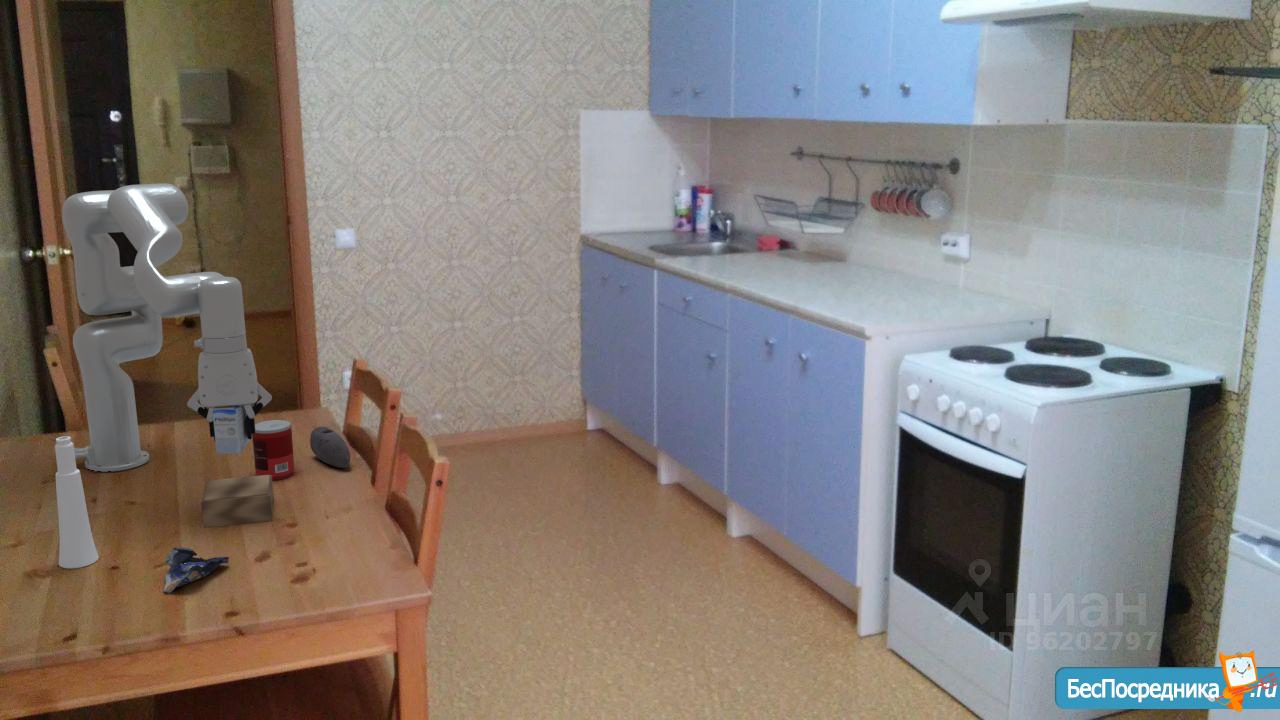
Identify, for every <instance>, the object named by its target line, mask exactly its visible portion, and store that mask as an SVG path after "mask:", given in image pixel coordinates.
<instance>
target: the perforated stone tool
mask: <svg viewBox="0 0 1280 720" xmlns="http://www.w3.org/2000/svg"><path fill="white" fill-rule="evenodd" d="M309 444H310V445H309V446H310V449H311V451H312V453H313V454H314V455H315V456H316V457H317V458H318V460H320V461H322V462H323V463H326V464H327V465H330V466H332V467H334V468H338V469H346V468H347V467H348V466H349V465H350V462H351V452H350V449H349V446H348V444H347V442H346V441H345V440H344V438H342V437H341V436H340V435H339V434H338V433H337V432H336V431H335V430H333V429H330V428H329V427H325V426H318V427H316V428H314V429H313V430H312V431H311V433H310V439H309Z"/></svg>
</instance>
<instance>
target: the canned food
mask: <svg viewBox="0 0 1280 720" xmlns="http://www.w3.org/2000/svg"><path fill="white" fill-rule="evenodd" d="M292 430H293V429H292V423H291V422H290V421H288V420H284V419H283V420H282V419H272V420H264V421H261V422H257V423H255V433H253V434H252V447H253V460H254V468H255V476H262V475H272V482H273V481H279V480H284V479H287V478H289V476H290V477H291V476H293V475H294V471H295V459H294V445H293V433H292V432H293V431H292Z"/></svg>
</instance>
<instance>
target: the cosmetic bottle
mask: <svg viewBox="0 0 1280 720" xmlns="http://www.w3.org/2000/svg"><path fill="white" fill-rule="evenodd" d="M71 440H72V437H71V436H59V437H56V438H55V442H56V444H55V445H54V450H55V458H56V467H57V472H55V487H56V488H55V489H56V501H57V513H58V514H57V517H58V530H59V531H58V532H59V553H58V554H59V555H58V556H59V558H58V565H59V567H60V568H63V569H69V570H70V569H71V570H72V569H81V568H85V567H87V566H90V565H93V564H95V563H97V561H98V560H99V554H98V551H97V547H96V545H95V541H94V538H93V534H92V533H93V532H92V529H91V525H90V524H91V523H90V519H89V514H88V509H87V504H86V496H85V491H84V486H83V479H82V475H81V470H79V468H77V461H76V459H75V452H74V448H75V446H74V445H75V444H74V442H72V441H71Z"/></svg>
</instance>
